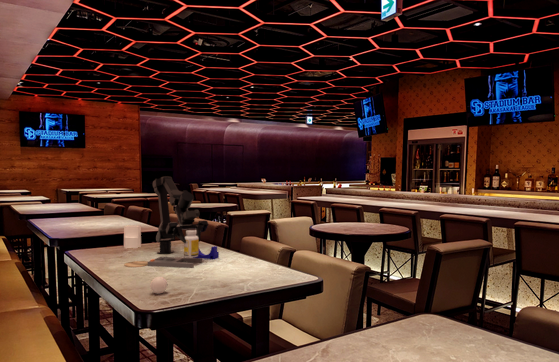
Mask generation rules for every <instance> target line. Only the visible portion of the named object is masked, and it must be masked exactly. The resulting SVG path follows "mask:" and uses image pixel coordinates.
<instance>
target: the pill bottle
mask: <svg viewBox="0 0 559 362" xmlns="http://www.w3.org/2000/svg"><path fill="white" fill-rule="evenodd" d="M196 234H197V231H196V230H195V229H186V230H185V235H184V237H185V240H186V243H183V257H184V258H193V257H197V256H198V255H199V249H200V247H199V246H200V245H199V243H200V242H199V238H198V236H196Z"/></svg>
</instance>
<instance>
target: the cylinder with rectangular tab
mask: <svg viewBox="0 0 559 362" xmlns="http://www.w3.org/2000/svg"><path fill="white" fill-rule="evenodd" d="M141 227H142V226H141V225H131V224H129V225H127V224H125V225H124V226H123V249H127V248H133V249H138V247H140V248H141V247H142V236H141V235H142V230H141V229H142V228H141Z"/></svg>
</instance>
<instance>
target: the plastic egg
mask: <svg viewBox="0 0 559 362" xmlns="http://www.w3.org/2000/svg"><path fill="white" fill-rule="evenodd" d="M149 287H150V290H151V291H152V293H154V294H156V295H157V294H158V295H160V294H162V293H165V292H166V291H167V288H168V281H167V279H166V278H165V277H162V276H156V277H154V278H153V279H152V280H151V282H150V285H149Z"/></svg>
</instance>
